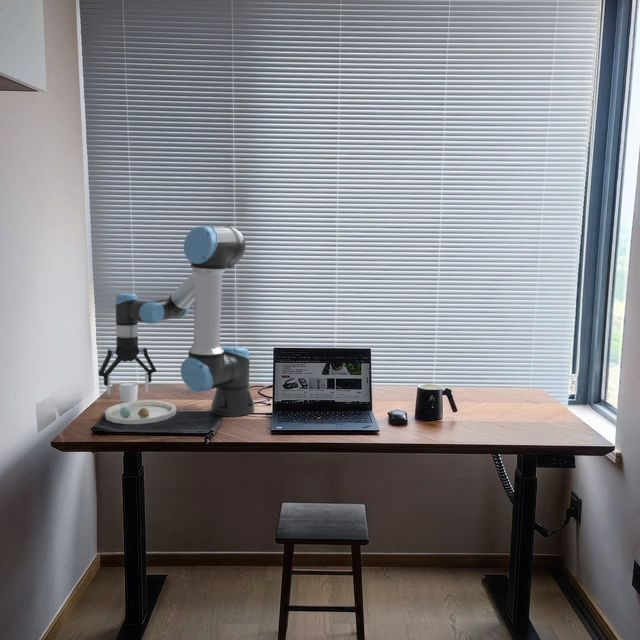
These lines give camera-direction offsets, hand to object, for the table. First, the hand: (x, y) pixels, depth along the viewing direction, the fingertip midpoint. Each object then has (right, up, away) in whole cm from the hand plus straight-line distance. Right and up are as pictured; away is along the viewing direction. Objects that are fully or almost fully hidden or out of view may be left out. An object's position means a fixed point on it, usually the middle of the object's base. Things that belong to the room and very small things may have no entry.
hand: (128, 392), depth 234 cm
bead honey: (+12, -6, -23) cm, 26 cm away
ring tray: (+10, -6, -17) cm, 21 cm away
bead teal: (+6, -6, -21) cm, 23 cm away
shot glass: (0, -4, 0) cm, 4 cm away
